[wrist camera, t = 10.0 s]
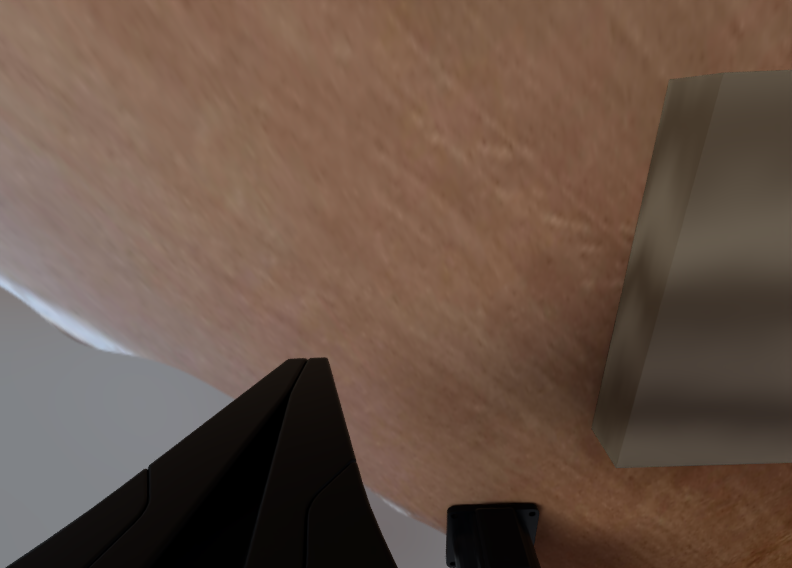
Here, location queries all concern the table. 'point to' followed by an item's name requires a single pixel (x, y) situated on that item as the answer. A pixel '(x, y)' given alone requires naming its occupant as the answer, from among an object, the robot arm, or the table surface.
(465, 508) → the robot arm
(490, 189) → the table surface
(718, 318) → the block
